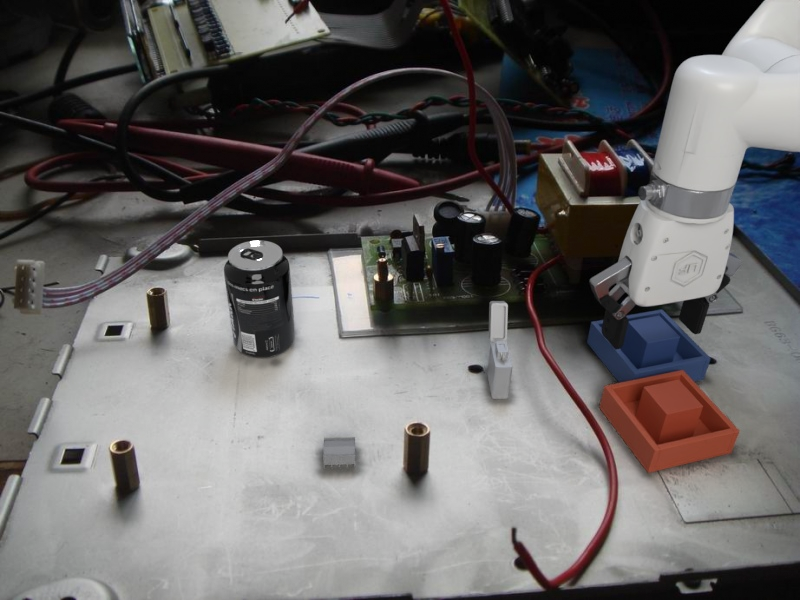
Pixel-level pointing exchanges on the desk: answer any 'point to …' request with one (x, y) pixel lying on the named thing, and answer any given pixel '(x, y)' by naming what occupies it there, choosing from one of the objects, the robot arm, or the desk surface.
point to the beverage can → (260, 299)
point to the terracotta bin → (707, 441)
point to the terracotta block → (668, 411)
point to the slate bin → (624, 370)
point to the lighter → (499, 351)
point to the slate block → (650, 342)
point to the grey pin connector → (339, 451)
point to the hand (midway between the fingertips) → (650, 333)
